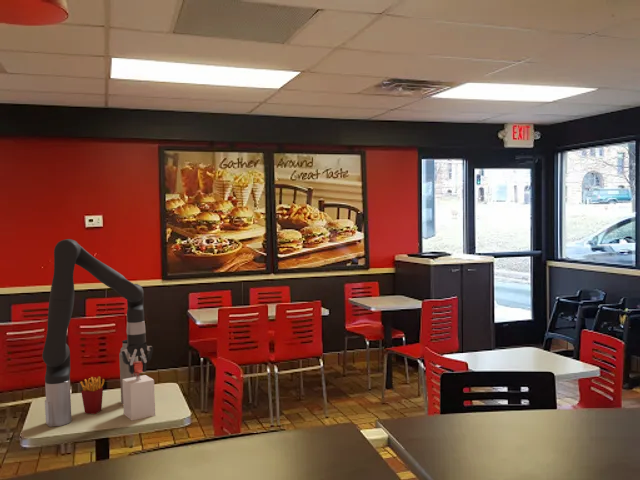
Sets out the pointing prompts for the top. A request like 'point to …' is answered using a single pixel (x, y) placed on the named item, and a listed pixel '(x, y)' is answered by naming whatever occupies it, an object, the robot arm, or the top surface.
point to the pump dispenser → (138, 397)
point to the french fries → (92, 395)
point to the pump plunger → (138, 368)
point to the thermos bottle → (125, 368)
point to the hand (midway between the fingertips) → (137, 372)
